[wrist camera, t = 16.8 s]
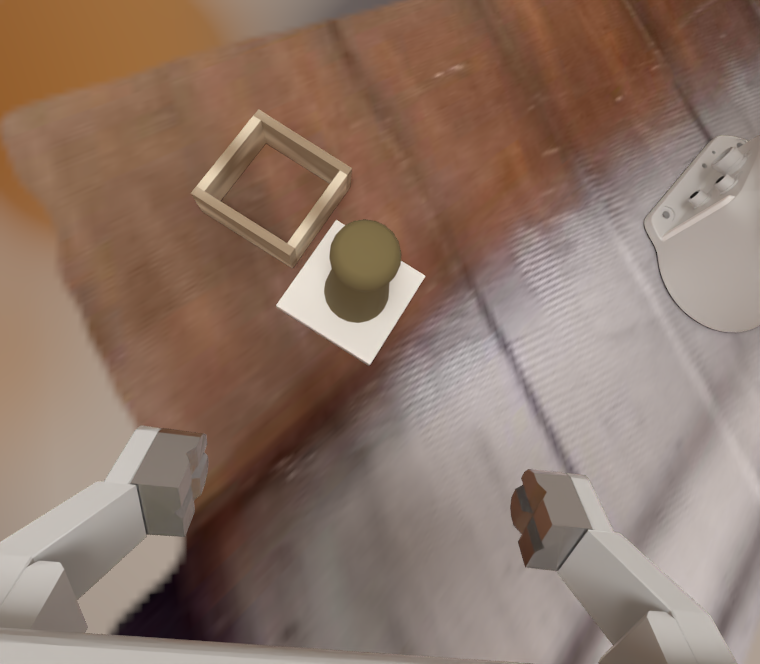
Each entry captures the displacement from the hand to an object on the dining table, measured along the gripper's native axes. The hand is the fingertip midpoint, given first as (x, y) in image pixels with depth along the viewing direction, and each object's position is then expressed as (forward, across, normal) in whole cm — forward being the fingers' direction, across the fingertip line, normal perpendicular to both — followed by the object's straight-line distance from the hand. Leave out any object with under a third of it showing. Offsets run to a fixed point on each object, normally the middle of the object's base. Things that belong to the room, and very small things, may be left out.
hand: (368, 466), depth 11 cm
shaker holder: (+36, +9, +6) cm, 37 cm away
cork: (+29, 0, +11) cm, 31 cm away
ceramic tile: (+30, 0, +12) cm, 32 cm away
